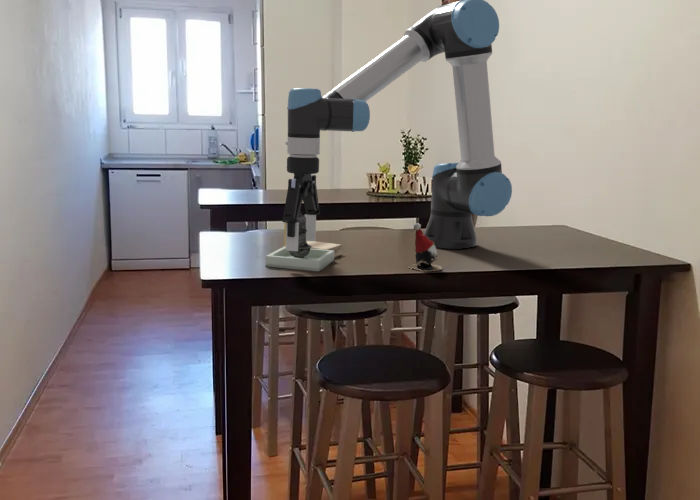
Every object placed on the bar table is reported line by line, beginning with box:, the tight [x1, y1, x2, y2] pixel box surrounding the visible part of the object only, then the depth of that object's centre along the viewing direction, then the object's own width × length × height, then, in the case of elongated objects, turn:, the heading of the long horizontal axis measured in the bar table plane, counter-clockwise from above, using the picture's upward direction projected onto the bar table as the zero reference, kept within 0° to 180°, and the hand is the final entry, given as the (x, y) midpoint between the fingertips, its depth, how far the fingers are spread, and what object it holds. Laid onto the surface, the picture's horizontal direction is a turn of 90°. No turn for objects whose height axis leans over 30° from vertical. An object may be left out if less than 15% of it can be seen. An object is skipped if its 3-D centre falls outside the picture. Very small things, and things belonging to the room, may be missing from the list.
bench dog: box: [283, 222, 286, 247], centre depth 182 cm, size 3×3×8 cm
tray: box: [265, 245, 335, 272], centre depth 169 cm, size 13×13×2 cm
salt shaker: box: [289, 210, 312, 259], centre depth 169 cm, size 6×6×12 cm
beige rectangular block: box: [306, 240, 343, 258], centre depth 181 cm, size 10×8×3 cm
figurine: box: [407, 222, 443, 272], centre depth 168 cm, size 8×10×12 cm
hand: (301, 245), depth 169 cm, fingers open, 13 cm apart
